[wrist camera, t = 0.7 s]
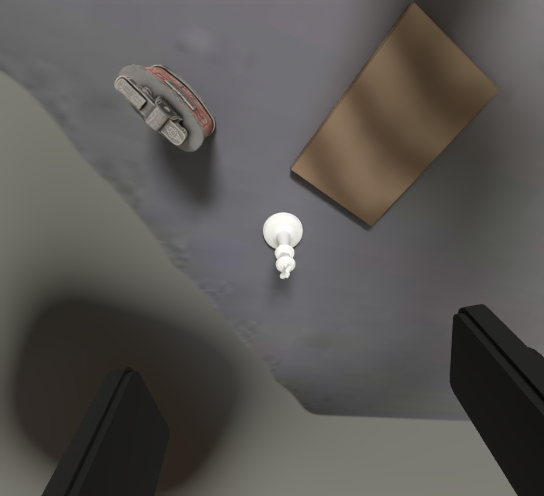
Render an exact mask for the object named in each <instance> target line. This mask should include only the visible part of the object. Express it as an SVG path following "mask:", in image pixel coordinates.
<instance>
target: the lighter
mask: <svg viewBox="0 0 544 496" xmlns="http://www.w3.org/2000/svg"><path fill="white" fill-rule="evenodd" d="M115 88H116V89H117V90H118V91H119V92H120V93H121V94H122V95H123V96H124V97H125V98H126V100H127V101H128V102H129V104H130V105H131V106H132V107H133V109H134V110H135V111H136V112H137V113H138V114H139V115H140V116H141V117H142V118H143V119H144V121H145V122H146V123H147V124H148V125H149V126H150V127H151V128H152V129H153V130H155V131H156V132H157V133H159V134H160V135H161V136H162V137H163V138H165V139H166V140H167V141H169V142H170V143H172V144H173V145H175V146H176V147H178V148H179V149H181V150H183V151H185V152H192V151H195V150H197V149H198V148H199V147H200V146H201V145H202V143H203V142H204V138H205V137H207V136H209V135H210V134H211V133H212V132H213V131H214V129H215V126H216V120H215V118H214V116H213V114H212V113H211V111H210V110H209V108H208V107H207V105H206V104H205V103H204V101H203V100H202V99H201V98H200V97H199V95H198V94H197V93H196V92H195V91H194V89H192V88H191V87H190V86H189V85H188V84H187V83H186V82H185V81H184V80H183V79H182V78H181V77H179V76H178V75H177V74H175V73H174V72H173V71H171V70H170V69H169V68H167V67H165V66H163V65H154V66H151V67H142V66H139V65H127V66H125V67H123V68H122V69H121V70H120V72H119V74H118V78H117V80H116V81H115Z"/></svg>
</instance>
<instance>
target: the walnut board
mask: <svg viewBox="0 0 544 496" xmlns="http://www.w3.org/2000/svg"><path fill="white" fill-rule="evenodd" d="M498 91H499V89H498V88H497V87H496V86H495V85H494V84H493V83H492V82H491V81H490V80H489V79H488V78H487V77H486V76H485V75H484V74H483V73H482V71H481V70H480V69H479V68H478V67H477V66H476V65H475V64H474V63H473V62H472V61H471V60H470V59H469V58H468V57H467V56H466V55H465V54H464V53H463V52H462V51H461V50H460V49H459V48H458V47H457V46H456V45H455V44H454V43H453V42H452V41H451V40H450V39H449V38H448V37H447V35H446V34H445V33H444V32H443V31H442V30H441V29H440V28H439V27H438V26H437V25H436V24H435V23H434V22H433V21H432V20H431V19H430V18H429V17H428V16H427V15H426V14H425V13H424V12H423V11H422V10H421V9H420V8H419V7H418V6H417V5H416V4H415V3H412V4H410V5H409V6H408V7H407V8H406V10H405V11H404V13H403V14H402V15H401V17H400V18H399V19H398V21H397V22H396V23H395V25H394V26H393V28H392V29H391V30H390V32H389V33H388V34H387V36H386V37H385V38H384V40H383V41H382V43H381V44H380V45H379V47H378V48H377V49H376V51H375V52H374V53H373V55H372V56H371V58H370V59H369V60H368V62H367V63H366V64H365V66H364V67H363V69H362V70H361V71H360V73H359V74H358V75H357V77H356V78H355V79H354V81H353V82H352V84H351V85H350V86H349V88H348V89H347V90H346V92H345V93H344V94H343V96H342V97H341V99H340V100H339V101H338V103H337V104H336V105H335V107H334V108H333V109H332V111H331V112H330V114H329V115H328V116H327V118H326V119H325V120H324V122H323V123H322V124H321V126H320V127H319V129H318V130H317V131H316V133H315V134H314V135H313V137H312V138H311V140H310V141H309V142H308V144H307V145H306V146H305V148H304V149H303V150H302V152H301V153H300V155H299V156H298V157H297V159H296V160H295V161H294V163H293V164H292V165H291V170H292V171H294V172H295V173H297V174H298V175H300V176H301V177H302V178H304V179H305V180H307V181H308V182H309V183H311V184H312V185H314V186H315V187H317V188H318V189H319V190H321V191H322V192H324V193H325V194H326V195H328V196H329V197H331V198H332V199H333V200H335V201H336V202H338V203H339V204H341V205H342V206H343V207H345V208H346V209H348V210H349V211H350V212H352V213H353V214H355V215H356V216H358V217H359V218H360V219H362V220H363V221H365V222H366V223H367V224H369V225H370V226H372V225H373V224H374V223H375V222H376V221H377V220H378V219H379V218H380V217H381V216H382V215H383V214H384V213H385V212H386V211H387V209H388V208H389V207H390V206H391V205H392V204H393V203H394V202H395V201H396V200H397V199H398V198H399V197H400V196H401V194H402V193H403V192H404V191H405V190H406V189H407V188H408V187H409V186H410V185H411V184H412V183H413V182H414V181H415V180H416V178H417V177H418V176H419V175H420V174H421V173H422V172H423V171H424V170H425V169H426V168H427V167H428V166H429V165H430V164H431V162H432V161H433V160H434V159H435V158H436V157H437V156H438V155H439V154H440V153H441V152H442V151H443V150H444V149H445V147H446V146H447V145H448V144H449V143H450V142H451V141H452V140H453V139H454V138H455V137H456V136H457V135H458V134H459V133H460V131H461V130H462V129H463V128H464V127H465V126H466V125H467V124H468V123H469V122H470V121H471V120H472V119H473V118H474V117H475V115H476V114H477V113H478V112H479V111H480V110H481V109H482V108H483V107H484V106H485V105H486V104H487V103H488V102H489V100H490V99H491V98H492V97H493V96H494V95H495V94H496V93H497V92H498Z"/></svg>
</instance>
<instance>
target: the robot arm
mask: <svg viewBox="0 0 544 496" xmlns="http://www.w3.org/2000/svg"><path fill="white" fill-rule="evenodd" d="M450 384H451V387H452V390H453V392H454V394H455V395H456V397H457V399H458V400H459V402H460V403H461V405H462V407H463V408H464V410H465V411H466V413H467V415H468V416H469V418H470V420H471V421H472V423H473V424H474V426H475V427H476V429H477V431H478V432H479V434H480V436H481V437H482V439H483V441H484V442H485V444H486V445H487V447H488V448H489V450H490V452H491V453H492V455H493V457H494V458H495V460H496V461H497V463H498V465H499V466H500V468H501V469H502V471H503V473H504V474H505V476H506V478H507V479H508V481H509V482H510V484H511V486H512V487H513V489H514V491H515V492H516V494H517V495H518V496H544V357H543V356H542V355H541V354H539V353H538V352H537V351H536V350H534V349H532V348H529V347H527V346H526V345H525V344H524V343H523V342H522V341H521V340H520V339H519V338H518V337H517V336H516V335H515V334H514V333H513V332H512V331H511V330H510V329H509V328H508V327H507V326H506V325H505V324H504V323H503V322H502V321H501V320H500V319H499V318H498V317H497V316H496V315H495V314H494V313H493V312H492V311H491V310H490V309H489V308H488V307H486V306H485V305H483V304H480V305H474V306H469V307H463V308H460V309H459V312H458V314H455V315H454V316H453V330H452V348H451V365H450ZM168 440H169V427H168V425H167V423H166V421H165V419H164V417H163V415H162V414H161V412H160V410H159V409H158V406H157V405H156V403H155V401H154V399H153V398H152V396H151V394H150V392H149V390H148V388H147V387H146V385H145V383H144V381H143V379H142V378H141V376H140V374H139V372H137V371H134V370H133V369H132V368H130V367H127V368H121V369H116V370H111V371H109V372H108V373H107V375H106V376H105V378H104V380H103V382H102V384H101V386H100V388H99V389H98V391H97V393H96V395H95V397H94V399H93V401H92V402H91V404H90V406H89V408H88V410H87V412H86V414H85V416H84V417H83V419H82V421H81V423H80V425H79V427H78V429H77V430H76V432H75V434H74V436H73V438H72V440H71V442H70V444H69V445H68V447H67V449H66V451H65V453H64V455H63V457H62V458H61V460H60V462H59V464H58V466H57V468H56V470H55V472H54V474H53V475H52V477H51V479H50V481H49V483H48V485H47V486H46V488H45V490H44V492H43V494H42V496H154V493H155V490H156V486H157V482H158V478H159V474H160V471H161V467H162V463H163V459H164V455H165V451H166V448H167V444H168Z"/></svg>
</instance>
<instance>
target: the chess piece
mask: <svg viewBox="0 0 544 496" xmlns="http://www.w3.org/2000/svg"><path fill="white" fill-rule="evenodd" d="M302 232H303V228H302V224H301V222H300V220H299V219H298V218H297V217H296V216H294V215H292V214H289V213H277V214H274V215H272V216H271V217H269V218H268V219H267V221H266V222H265V224H264V227H263V235H264V238H265V240H266V242H267V243H268V244H269V245H270V246H271V247H273V248H275V249H276V250H275V256H276V258H277V261H276V268H277V269H278V270H279V271H280V272H282V273H281V274H280V278H282V279H284V278H288V277H289V275H290V274H289V272H291V271H292V270H293V269H294V268H295V261H294V259H293V256H294V249H293V247H294V246H296V245H297V244H298V243H299V241H300V240H301V237H302Z"/></svg>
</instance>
